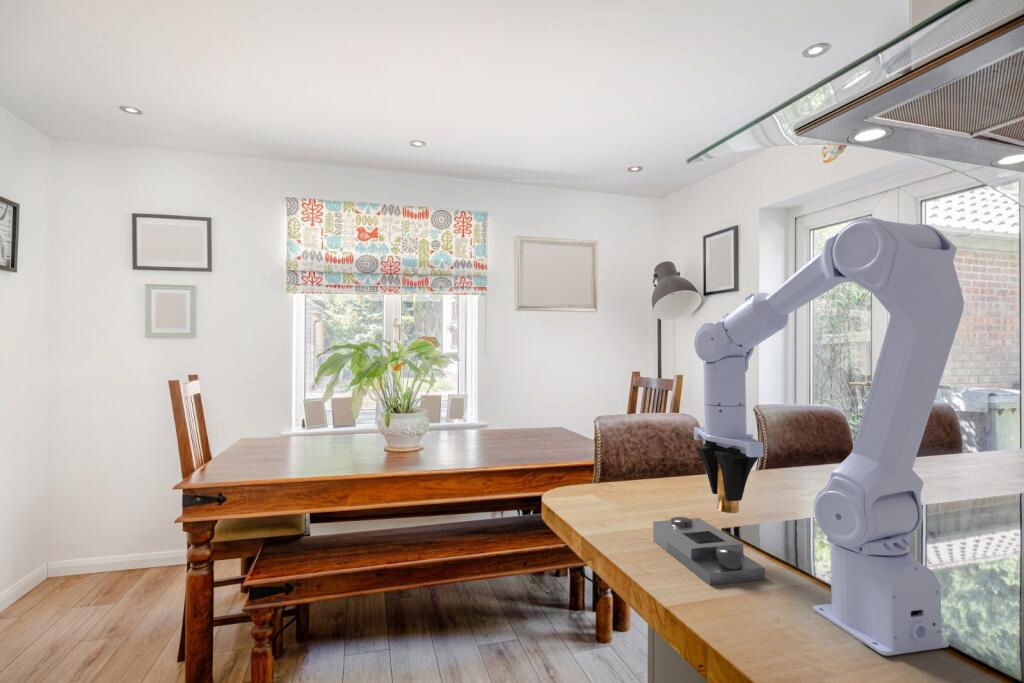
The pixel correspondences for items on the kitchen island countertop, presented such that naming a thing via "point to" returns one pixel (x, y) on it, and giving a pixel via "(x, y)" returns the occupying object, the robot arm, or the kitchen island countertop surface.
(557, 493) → the kitchen island countertop surface
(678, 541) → the gray slab
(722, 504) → the pin
